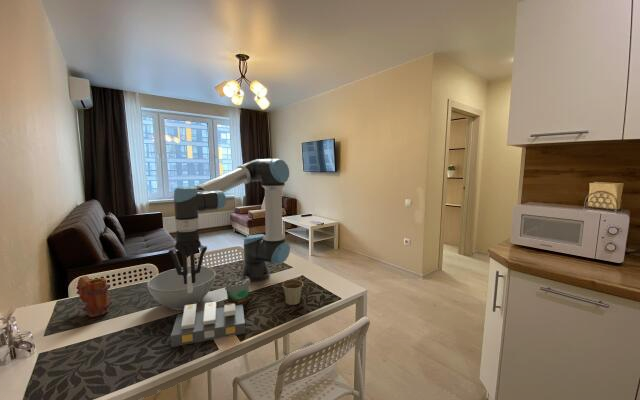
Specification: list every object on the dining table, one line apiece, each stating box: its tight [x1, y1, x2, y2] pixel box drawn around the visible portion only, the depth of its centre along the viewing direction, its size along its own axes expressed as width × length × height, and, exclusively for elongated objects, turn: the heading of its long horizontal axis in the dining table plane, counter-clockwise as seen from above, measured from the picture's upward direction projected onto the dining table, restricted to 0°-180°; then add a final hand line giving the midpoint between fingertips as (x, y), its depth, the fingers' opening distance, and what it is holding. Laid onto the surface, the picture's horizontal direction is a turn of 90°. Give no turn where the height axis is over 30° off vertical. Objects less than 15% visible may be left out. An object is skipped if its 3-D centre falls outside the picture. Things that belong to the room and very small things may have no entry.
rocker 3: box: [224, 304, 236, 316], centre depth 102 cm, size 10×4×2 cm, turn 19°
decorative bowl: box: [146, 265, 217, 311], centre depth 118 cm, size 27×27×12 cm
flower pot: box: [281, 279, 304, 306], centre depth 120 cm, size 9×9×9 cm
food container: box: [224, 276, 251, 306], centre depth 118 cm, size 12×6×10 cm, turn 148°
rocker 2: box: [203, 301, 217, 325], centre depth 99 cm, size 10×4×2 cm, turn 19°
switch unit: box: [170, 304, 246, 348], centre depth 100 cm, size 14×24×5 cm, turn 109°
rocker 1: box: [181, 304, 198, 329], centre depth 97 cm, size 10×4×2 cm, turn 19°
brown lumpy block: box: [76, 275, 113, 318], centre depth 109 cm, size 15×8×15 cm, turn 71°
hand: (190, 291), depth 100 cm, fingers closed
